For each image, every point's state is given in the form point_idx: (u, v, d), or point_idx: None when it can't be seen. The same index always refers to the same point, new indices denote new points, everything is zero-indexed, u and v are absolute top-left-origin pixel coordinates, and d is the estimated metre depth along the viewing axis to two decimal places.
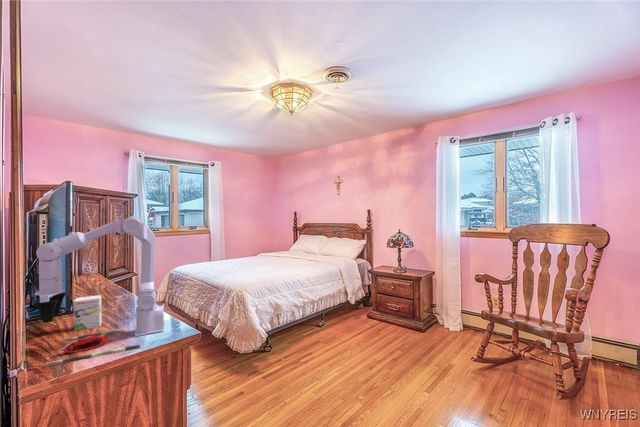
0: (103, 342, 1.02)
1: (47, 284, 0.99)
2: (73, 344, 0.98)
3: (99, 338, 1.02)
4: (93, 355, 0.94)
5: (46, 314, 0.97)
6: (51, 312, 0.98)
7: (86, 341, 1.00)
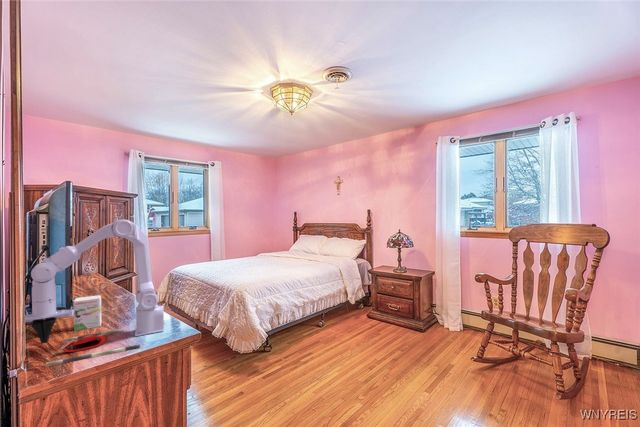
0: (102, 342, 1.03)
1: None
2: (72, 343, 0.98)
3: (98, 338, 1.02)
4: (93, 355, 0.94)
5: None
6: None
7: (85, 340, 1.00)
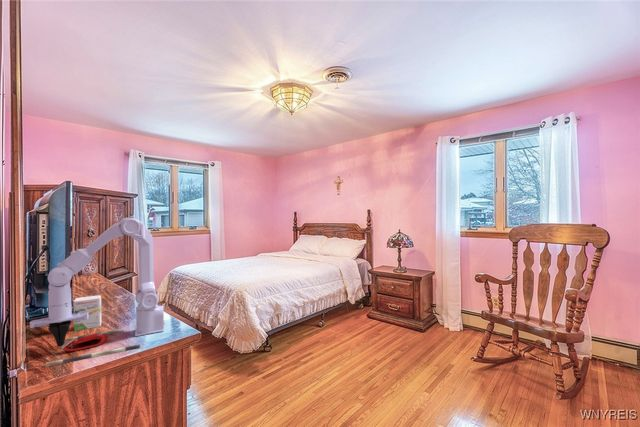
0: (103, 340, 1.03)
1: None
2: (73, 342, 0.99)
3: (99, 336, 1.03)
4: (93, 355, 0.94)
5: None
6: None
7: (86, 339, 1.01)
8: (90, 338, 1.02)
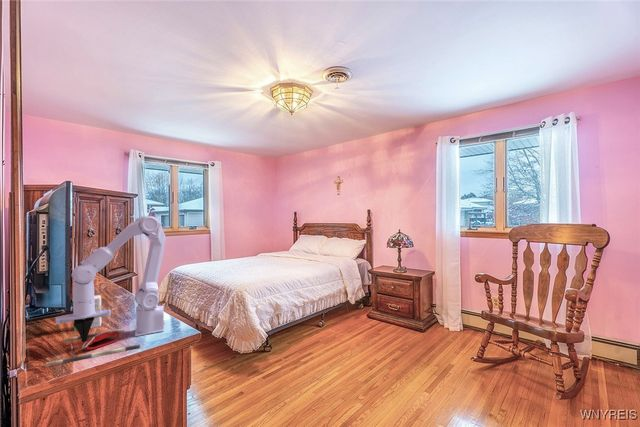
0: (118, 336, 1.07)
1: None
2: (93, 341, 1.00)
3: (115, 333, 1.06)
4: (93, 355, 0.94)
5: None
6: None
7: (104, 337, 1.03)
8: (107, 335, 1.04)
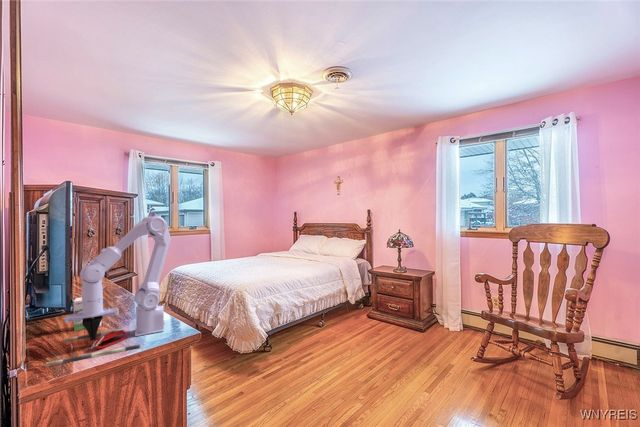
0: None
1: None
2: (102, 340, 1.01)
3: (122, 332, 1.07)
4: (93, 355, 0.94)
5: None
6: None
7: (112, 336, 1.04)
8: (115, 334, 1.05)
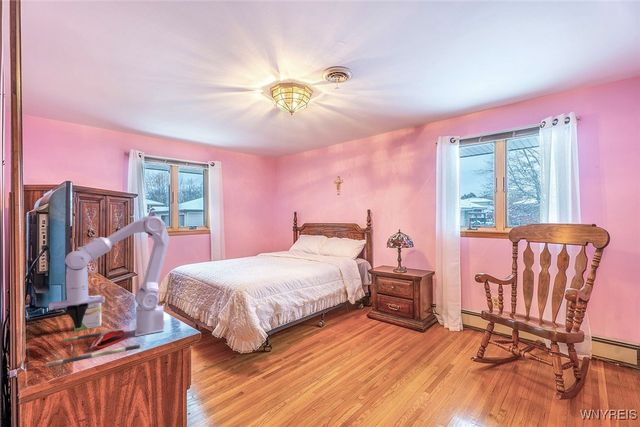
0: (124, 335, 1.08)
1: None
2: (101, 340, 1.01)
3: (121, 332, 1.07)
4: (93, 355, 0.94)
5: None
6: None
7: (111, 336, 1.04)
8: (114, 334, 1.05)
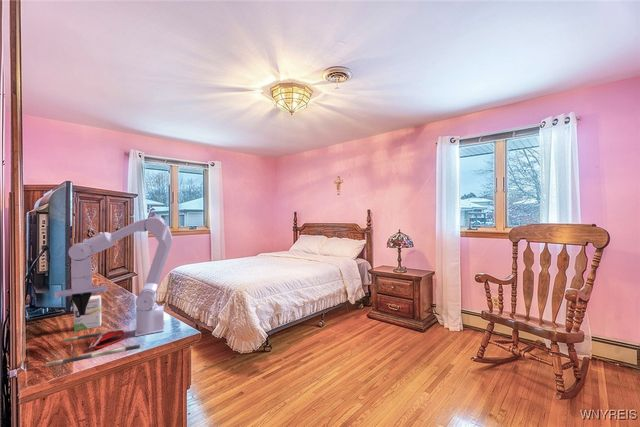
0: (123, 335, 1.08)
1: None
2: (100, 340, 1.01)
3: (120, 332, 1.07)
4: (93, 355, 0.94)
5: None
6: None
7: (110, 336, 1.04)
8: (113, 334, 1.05)
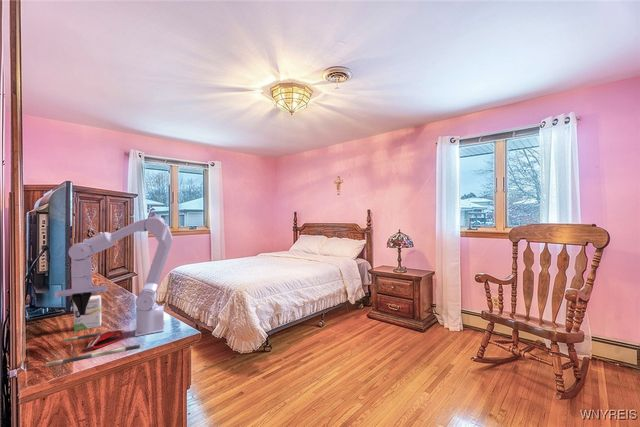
0: None
1: None
2: (98, 340, 1.01)
3: (118, 332, 1.07)
4: (93, 355, 0.94)
5: None
6: None
7: (108, 336, 1.04)
8: (111, 334, 1.05)
